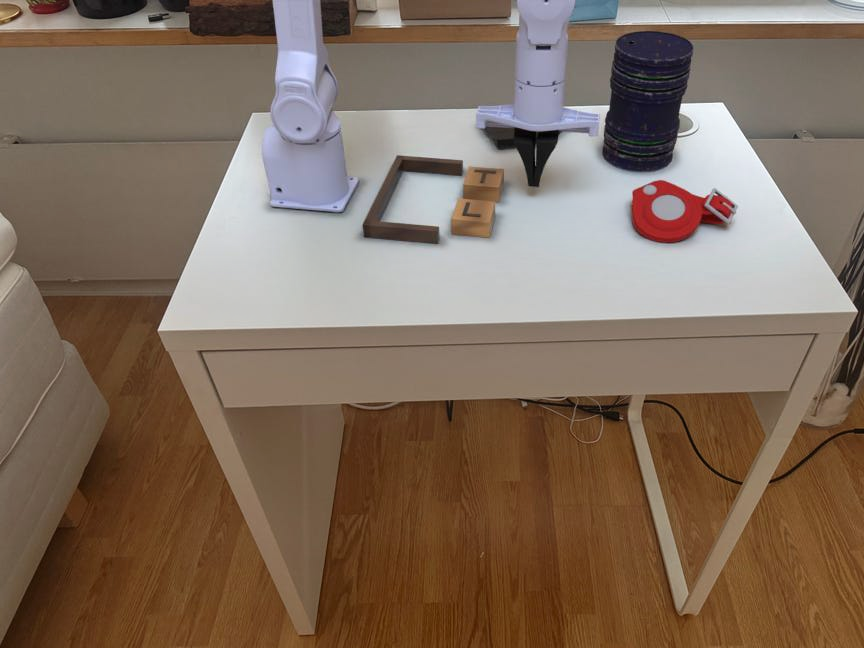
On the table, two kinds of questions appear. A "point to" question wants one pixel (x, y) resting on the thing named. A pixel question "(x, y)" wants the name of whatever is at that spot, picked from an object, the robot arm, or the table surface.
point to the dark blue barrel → (646, 99)
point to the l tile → (473, 218)
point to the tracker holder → (676, 211)
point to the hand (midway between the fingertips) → (534, 183)
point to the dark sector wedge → (502, 136)
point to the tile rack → (400, 164)
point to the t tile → (483, 184)
